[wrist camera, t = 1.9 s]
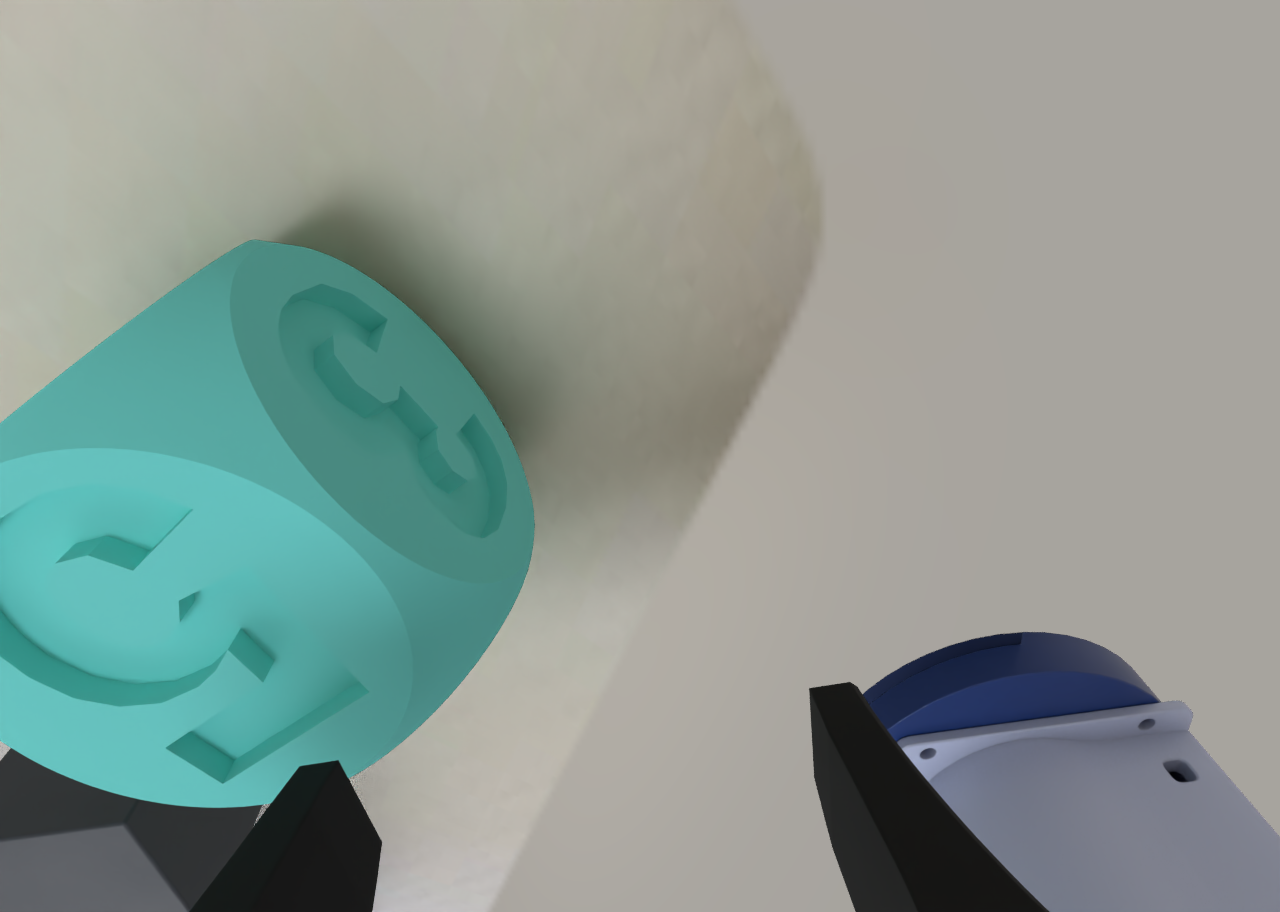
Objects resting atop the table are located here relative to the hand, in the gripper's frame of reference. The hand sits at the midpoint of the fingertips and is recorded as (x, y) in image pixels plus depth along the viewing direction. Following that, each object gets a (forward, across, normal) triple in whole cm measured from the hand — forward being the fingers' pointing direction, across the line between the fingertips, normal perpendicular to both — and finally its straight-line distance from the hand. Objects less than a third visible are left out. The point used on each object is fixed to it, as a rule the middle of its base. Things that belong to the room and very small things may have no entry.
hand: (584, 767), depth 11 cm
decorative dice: (+10, +6, -2) cm, 12 cm away
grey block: (+10, +15, +8) cm, 19 cm away
